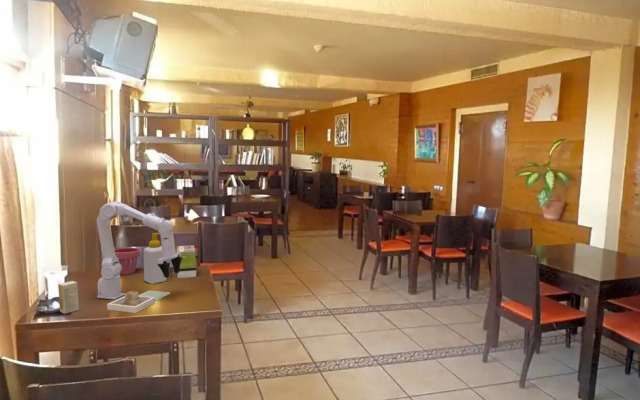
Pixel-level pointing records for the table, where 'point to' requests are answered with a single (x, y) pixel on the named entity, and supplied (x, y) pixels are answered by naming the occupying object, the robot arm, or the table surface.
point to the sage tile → (155, 294)
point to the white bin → (132, 309)
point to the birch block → (131, 299)
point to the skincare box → (68, 297)
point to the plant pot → (127, 259)
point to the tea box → (187, 261)
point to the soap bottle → (153, 261)
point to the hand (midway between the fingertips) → (171, 275)
